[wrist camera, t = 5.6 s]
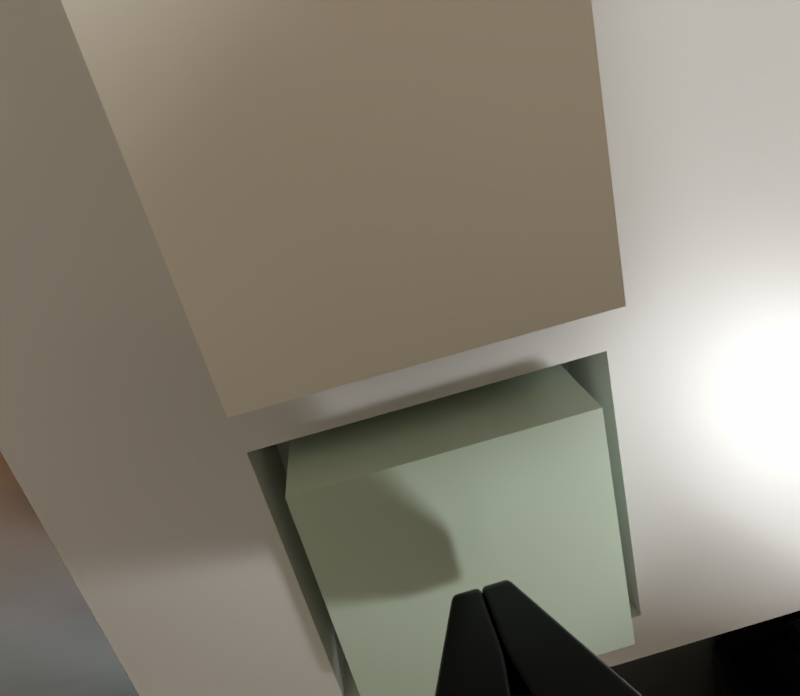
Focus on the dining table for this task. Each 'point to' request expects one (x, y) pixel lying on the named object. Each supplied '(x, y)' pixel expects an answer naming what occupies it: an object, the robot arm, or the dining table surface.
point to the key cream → (361, 176)
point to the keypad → (278, 424)
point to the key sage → (460, 521)
